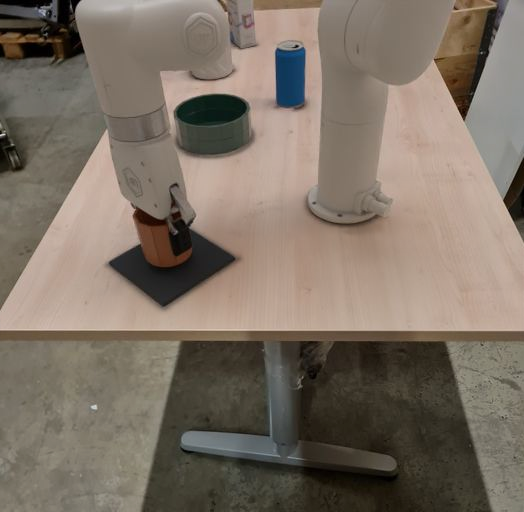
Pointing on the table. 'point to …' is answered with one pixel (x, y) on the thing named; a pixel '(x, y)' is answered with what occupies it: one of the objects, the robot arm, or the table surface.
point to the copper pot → (157, 239)
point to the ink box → (241, 22)
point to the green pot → (213, 123)
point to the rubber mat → (172, 269)
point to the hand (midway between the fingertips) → (166, 239)
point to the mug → (217, 66)
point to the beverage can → (290, 73)
